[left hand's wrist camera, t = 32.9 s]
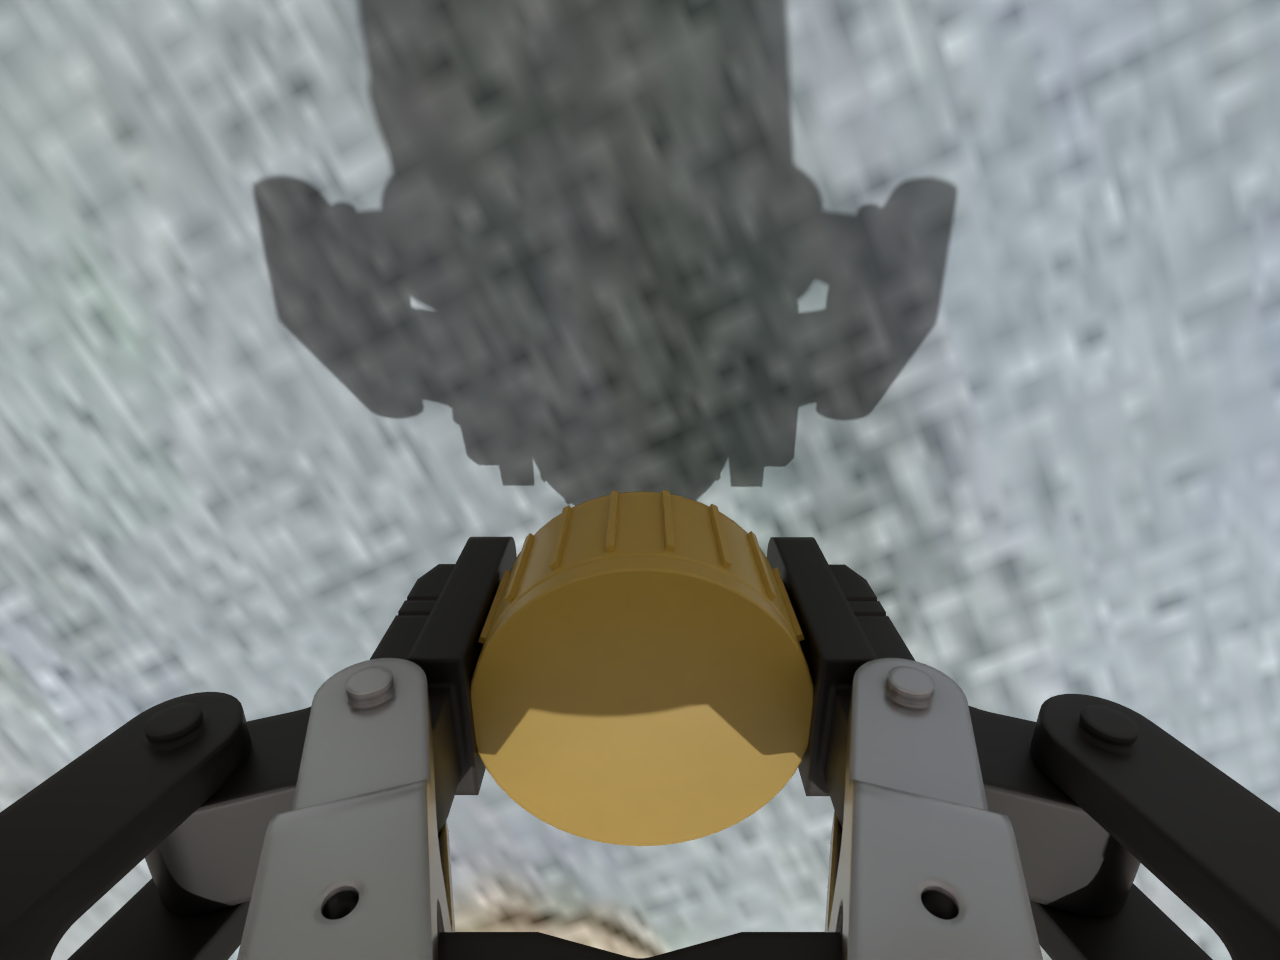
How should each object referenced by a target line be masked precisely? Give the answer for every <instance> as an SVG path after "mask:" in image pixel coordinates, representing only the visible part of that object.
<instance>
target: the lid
mask: <svg viewBox="0 0 1280 960" xmlns="http://www.w3.org/2000/svg"><path fill="white" fill-rule="evenodd" d="M804 639H805V638H804V636H803V633H802V630H801V628H800V625H799V623H798V620H797V617H796V615H795V612H794V609H793V607H792V604H791V602H790V599H789V596H788V594H787V591H786V588H785V586H784V583H783V580H782V578H781V575H780V573H779V570H778V568H775V569H772V567H771V565H770V563H769V561H768V559H767V558H766V556H765V554H764V553H763V551H762V550H761V548H760V547H759V544H758V541H757V538H756V536H755V534H754V533H753V532H752V531H751V532H749V533H747V532H746V531H745V530H744V529H742V528H741V527H740V526H739V525H738V524H737V523H735V522H734V521H733V520H731V519H730V518H728V517H727V516H725V515H724V514H722V513H721V512H719V511H718V507H717V506H715V505H713V504H711V505H710V507H709V506H707V505H705V504H703V503H700V502H697V501H694V500H691V499H688V498H685V497H681V496H676V495H671V494H670V492H669V491H667V490H662V493H657V492H624V493H618V490H617V491H611V495H606V496H602V497H599V498H596V499H592V500H589V501H586V502H584V503H581V504H579V505H577V506H574V507H572V508H571V507H570V506H569V505H568V506H566V507H565V508H563V511H562V513H561V514H560V515H558V516H556V517H555V518H553V519H552V520H551V521H549V522H548V523H547V524H546V525H544V526H543V527H542V528H541V529H539V531H538V532H537V533H536V534H535V535H534V536H533V535H532V534H531V533H530V534H529V535H528V536H527V537H526V539H525V542H524V545H523V548H522V551H521V552H520V553H519V555H518V556H517V558H516V560H515V562H514V564H513V566H512V568H511V570H510V571H507V570H505V571H504V574H503V576H502V579H501V581H500V584H499V587H498V589H497V592H496V595H495V597H494V600H493V603H492V605H491V608H490V611H489V613H488V616H487V619H486V621H485V624H484V627H483V629H482V632H481V635H480V637H479V640H478V642H479V643H482V644H484V645H483V648H482V650H481V653H480V656H479V658H478V661H477V664H476V667H475V670H474V673H473V676H472V679H471V701H472V710H473V718H474V727H475V736H476V744H477V751H478V753H479V755H480V757H481V759H482V761H483V763H484V765H485V767H486V769H487V770H488V771H489V773H490V774H491V776H492V777H493V778H494V780H495V781H496V783H497V784H498V785H499V786H500V787H501V788H502V789H503V790H504V791H505V792H506V794H507V795H508V796H509V797H510V798H511V799H513V800H514V801H515V802H516V803H517V804H519V805H520V806H521V807H522V808H524V809H525V810H526V811H528V812H529V813H531V814H532V815H534V816H535V817H537V818H539V819H540V820H542V821H544V822H546V823H548V824H550V825H552V826H554V827H556V828H558V829H560V830H563V831H565V832H568V833H571V834H573V835H576V836H579V837H583V838H586V839H590V840H594V841H598V842H604V843H610V844H617V845H630V846H655V845H666V844H674V843H681V842H685V841H689V840H694V839H698V838H702V837H704V836H707V835H710V834H713V833H716V832H719V831H721V830H724V829H726V828H728V827H730V826H732V825H734V824H737V823H738V822H740V821H742V820H743V819H745V818H747V817H748V816H750V815H752V814H753V813H755V812H756V811H757V810H759V809H760V808H761V807H763V806H764V805H765V804H767V803H768V802H769V801H770V800H771V799H772V798H773V797H774V796H775V795H776V794H777V793H778V792H779V791H780V790H781V789H782V788H783V787H784V786H785V785H786V783H787V782H788V781H789V779H790V778H791V777H792V776H793V774H794V773H795V771H796V769H797V768H798V766H799V764H800V763H801V761H802V759H803V757H804V755H805V752H806V750H807V746H808V740H809V732H810V723H811V715H812V706H813V696H814V685H813V681H812V678H811V674H810V671H809V667H808V664H807V661H806V659H805V656H804V653H803V651H802V648H801V645H800V642H799V641H801V640H804Z"/></svg>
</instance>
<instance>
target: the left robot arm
mask: <svg viewBox="0 0 1280 960" xmlns="http://www.w3.org/2000/svg"><path fill="white" fill-rule="evenodd" d="M516 558H517V557H516V547H515V542H514V539H513V537H470V538H469V539H468V541H467V543H466V545H465V547H464V549H463V551H462V553H461V555H460V556H459V558H458V560H457V562H456V564H438V565H437V566H436V567H434V568H433V569H432V570H430V571H429V572H427V573H426V574H425V575H423V576H422V577H420V578H419V579H418V580H417V582H416V583H415V585H414V587H413V588H412V590H411V592H410V593H409V595H408V597H407V601H405V602H404V603H403V605H402V607H401V608H400V610H399V614H398V616H396V617H395V618H394V620H393V622H392V623H391V625H390V627H389V628H388V630H387V632H386V633H385V635H384V637H383V638H382V640H381V642H380V643H379V645H378V647H377V648H376V650H375V652H374V653H373V655H372V657H371V658H370V660H368V661H364V662H360V663H357V664H354V665H352V666H350V667H347V668H345V669H343V670H341V671H339V672H338V673H336V674H335V675H333V676H332V677H330V678H329V679H328V680H327V681H326V682H324V683H323V684H322V686H321V687H320V688H319V689H318V691H317V692H316V694H315V696H314V699H313V702H312V707H309V708H306V709H302V710H298V711H294V712H290V713H285V714H281V715H276V716H271V717H266V718H262V719H257V720H252V721H248V722H246V719H245V715H244V711H243V708H242V705H241V703H240V702H239V701H238V700H237V699H236V698H235V697H233V696H231V695H228V694H225V693H219V692H202V693H194V694H189V695H184V696H181V697H177V698H174V699H171V700H168V701H165V702H163V703H161V704H158V705H156V706H154V707H152V708H150V709H148V710H146V711H144V712H142V713H141V714H139V715H138V716H136V717H135V718H133V719H132V720H130V721H129V722H127V723H126V724H125V725H123V726H122V727H120V728H119V729H117V730H116V731H115V732H113V733H112V734H110V735H109V736H108V737H106V738H105V739H103V740H102V741H101V742H99V743H98V744H96V745H95V746H94V747H92V748H91V749H89V750H88V751H86V752H85V753H84V754H82V755H81V756H79V757H78V758H77V759H75V760H74V761H72V762H71V763H70V764H68V765H67V766H65V767H64V768H63V769H61V770H60V771H58V772H57V773H55V774H54V775H53V776H51V777H50V778H48V779H47V780H46V781H44V782H43V783H41V784H40V785H39V786H37V787H36V788H34V789H33V790H32V791H30V792H29V793H27V794H26V795H24V796H23V797H22V798H20V799H19V800H17V801H16V802H15V803H13V804H12V805H10V806H9V807H8V808H6V809H5V810H3V811H2V812H1V813H0V960H51V957H52V955H53V952H54V950H55V948H56V946H57V945H58V943H59V941H60V940H61V938H62V937H63V935H64V934H65V933H66V931H67V930H68V929H69V928H70V927H71V925H72V924H73V923H74V922H75V921H76V920H77V919H78V918H80V917H81V916H82V915H83V914H84V913H85V912H86V911H87V910H88V909H89V908H90V907H92V906H93V905H94V904H95V903H96V902H97V901H98V900H99V899H100V898H101V897H102V896H103V895H105V894H106V893H107V892H108V891H109V890H110V889H111V888H112V887H113V886H114V885H115V884H117V883H118V882H119V881H120V880H121V879H122V878H123V877H124V876H125V875H126V874H127V873H129V872H130V871H131V870H132V869H133V868H134V867H135V866H136V865H137V864H138V863H139V862H141V861H142V860H143V859H144V858H145V859H146V862H147V865H148V867H149V870H150V873H151V875H152V879H151V880H150V881H149V882H148V883H147V884H146V885H145V886H144V887H143V888H142V889H141V890H140V891H139V892H137V893H136V894H135V895H134V896H133V897H132V898H131V899H130V900H129V901H128V902H127V903H126V904H125V905H124V906H123V907H122V908H121V909H120V910H119V911H118V912H117V913H116V914H115V915H113V916H112V917H111V918H110V919H109V920H108V921H107V922H106V923H105V924H104V925H103V926H102V927H101V928H100V929H99V930H98V931H97V932H96V933H95V934H94V935H93V936H92V937H91V938H89V939H88V940H87V941H86V942H85V943H84V944H83V945H82V946H81V947H80V948H79V949H78V950H77V951H76V952H75V953H74V954H73V955H72V956H71V957H70V958H69V959H68V960H228V959H229V958H230V956H231V955H232V954H233V953H234V952H235V950H236V949H237V948H238V947H239V946H240V949H239V953H238V958H237V960H1043V958H1042V953H1041V949H1040V946H1041V947H1042V948H1043V949H1044V950H1045V952H1046V953H1047V954H1048V955H1049V956H1050V958H1051V959H1052V960H1212V959H1211V958H1210V957H1209V956H1208V955H1207V954H1206V953H1205V952H1204V951H1203V950H1202V949H1201V948H1200V947H1199V946H1198V945H1197V944H1196V943H1195V942H1194V941H1193V940H1192V939H1191V938H1189V937H1188V936H1187V935H1186V934H1185V933H1184V932H1183V931H1182V930H1181V929H1180V928H1179V927H1178V926H1177V925H1176V924H1175V923H1174V922H1173V921H1172V920H1171V919H1170V918H1169V917H1168V916H1167V915H1165V914H1164V913H1163V912H1162V911H1161V910H1160V909H1159V908H1158V907H1157V906H1156V905H1155V904H1154V903H1153V902H1152V901H1151V900H1150V899H1149V898H1148V897H1147V896H1146V895H1145V894H1144V893H1143V892H1141V891H1140V890H1139V889H1138V888H1137V887H1136V886H1135V885H1134V884H1133V881H1134V879H1135V876H1136V873H1137V871H1138V868H1139V865H1140V863H1142V864H1143V865H1144V866H1145V867H1146V868H1147V869H1148V870H1149V871H1150V872H1151V873H1153V874H1154V875H1155V876H1156V877H1157V878H1158V879H1159V880H1160V881H1161V882H1162V883H1163V884H1165V885H1166V886H1167V887H1168V888H1169V889H1170V890H1171V891H1172V892H1173V893H1174V894H1175V895H1177V896H1178V897H1179V898H1180V899H1181V900H1182V901H1183V902H1184V903H1185V904H1186V905H1187V906H1188V907H1190V908H1191V909H1192V910H1193V911H1194V912H1195V913H1196V914H1197V915H1198V916H1199V917H1200V918H1202V919H1203V920H1204V921H1205V922H1206V923H1207V924H1208V925H1209V926H1210V927H1211V928H1212V929H1213V930H1214V931H1215V933H1216V934H1217V935H1218V936H1219V937H1220V939H1221V940H1222V942H1223V943H1224V945H1225V946H1226V948H1227V950H1228V951H1229V953H1230V955H1231V958H1232V960H1280V813H1279V812H1278V811H1277V810H1275V809H1274V808H1272V807H1271V806H1270V805H1268V804H1267V803H1265V802H1264V801H1263V800H1261V799H1260V798H1258V797H1257V796H1256V795H1254V794H1253V793H1251V792H1250V791H1248V790H1247V789H1246V788H1244V787H1243V786H1241V785H1240V784H1239V783H1237V782H1236V781H1234V780H1233V779H1232V778H1230V777H1229V776H1227V775H1226V774H1225V773H1223V772H1222V771H1220V770H1219V769H1217V768H1216V767H1215V766H1213V765H1212V764H1210V763H1209V762H1208V761H1206V760H1205V759H1203V758H1202V757H1201V756H1199V755H1198V754H1196V753H1195V752H1194V751H1192V750H1191V749H1189V748H1188V747H1186V746H1185V745H1184V744H1182V743H1181V742H1179V741H1178V740H1177V739H1175V738H1174V737H1172V736H1171V735H1170V734H1168V733H1167V732H1165V731H1164V730H1163V729H1161V728H1160V727H1158V726H1157V725H1156V724H1154V723H1153V722H1151V721H1150V720H1148V719H1147V718H1145V717H1144V716H1142V715H1140V714H1139V713H1137V712H1135V711H1133V710H1131V709H1129V708H1127V707H1125V706H1122V705H1120V704H1117V703H1115V702H1112V701H1109V700H1106V699H1102V698H1099V697H1094V696H1089V695H1082V694H1063V695H1057V696H1054V697H1051V698H1049V699H1048V700H1046V701H1045V702H1044V703H1043V704H1042V706H1041V709H1040V712H1039V715H1038V719H1037V722H1033V721H1028V720H1024V719H1019V718H1014V717H1010V716H1005V715H1000V714H995V713H991V712H987V711H983V710H979V709H977V708H974V707H971V706H968V702H967V699H966V696H965V694H964V692H963V691H962V689H961V688H960V687H959V686H958V684H957V683H956V682H954V681H953V680H952V679H951V678H950V677H948V676H947V675H945V674H944V673H942V672H941V671H939V670H937V669H935V668H933V667H930V666H928V665H926V664H923V663H920V662H916V661H915V660H914V658H913V656H912V655H911V653H910V651H909V650H908V648H907V646H906V645H905V643H904V641H903V640H902V638H901V637H900V635H899V633H898V632H897V630H896V628H895V627H894V625H893V623H892V622H891V620H890V618H889V617H888V616H886V612H885V610H884V609H883V607H882V605H881V604H880V602H879V601H877V597H876V595H875V594H874V592H873V590H872V589H871V587H870V586H869V584H868V582H867V581H866V580H865V579H864V578H863V577H861V576H860V575H858V574H857V573H856V572H854V571H853V570H852V569H850V568H849V567H847V566H846V565H828V563H827V561H826V559H825V557H824V555H823V553H822V551H821V550H820V548H819V546H818V544H817V542H816V540H815V539H814V538H813V537H771V538H770V541H769V544H768V551H767V559H768V561H769V563H770V565H771V567H772V569H775V568H778V570H779V573H780V575H781V578H782V580H783V583H784V586H785V588H786V591H787V594H788V596H789V599H790V602H791V604H792V607H793V609H794V612H795V615H796V617H797V620H798V623H799V625H800V628H801V630H802V633H803V636H804V638H805V639H804V640H801V641H799V642H800V645H801V648H802V651H803V653H804V656H805V659H806V661H807V664H808V667H809V671H810V674H811V678H812V681H813V685H814V696H813V706H812V715H811V723H810V732H809V740H808V746H807V750H806V752H805V755H804V757H803V759H802V761H801V763H800V764H799V766H798V768H799V772H800V775H801V779H802V782H803V786H804V789H805V793H806V796H830V797H831V800H832V803H833V806H834V809H835V812H834V819H833V826H832V833H831V846H830V861H829V876H828V891H827V906H826V920H825V932H741V933H737V934H733V935H730V936H726V937H722V938H719V939H715V940H712V941H708V942H704V943H701V944H697V945H693V946H690V947H686V948H683V949H679V950H675V951H672V952H668V953H664V954H661V955H657V956H654V957H649V958H644V959H636V958H631V957H626V956H623V955H619V954H616V953H612V952H608V951H605V950H601V949H597V948H594V947H590V946H587V945H583V944H579V943H576V942H572V941H568V940H565V939H561V938H558V937H554V936H550V935H547V934H543V933H539V932H455V920H454V905H453V891H452V876H451V861H450V846H449V833H448V826H447V817H448V814H449V811H450V808H451V805H452V802H453V799H454V795H478V794H479V790H480V787H481V783H482V779H483V776H484V772H485V768H486V767H485V765H484V763H483V761H482V759H481V757H480V755H479V753H478V751H477V744H476V736H475V727H474V718H473V710H472V701H471V679H472V676H473V673H474V670H475V667H476V664H477V661H478V658H479V656H480V653H481V650H482V648H483V645H484V644H482V643H479V642H478V640H479V637H480V635H481V632H482V629H483V627H484V624H485V621H486V619H487V616H488V613H489V611H490V608H491V605H492V603H493V600H494V597H495V595H496V592H497V589H498V587H499V584H500V581H501V579H502V576H503V574H504V571H505V570H507V571H510V570H511V568H512V566H513V564H514V562H515V560H516ZM240 944H241V945H240ZM1039 944H1040V945H1039Z"/></svg>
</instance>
